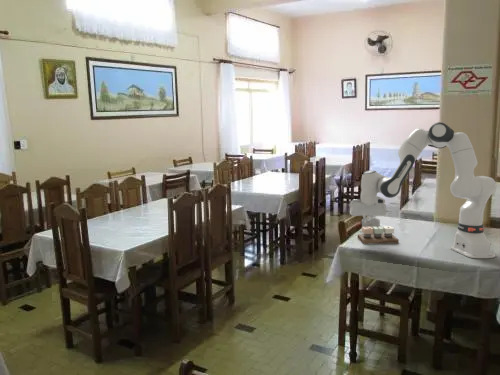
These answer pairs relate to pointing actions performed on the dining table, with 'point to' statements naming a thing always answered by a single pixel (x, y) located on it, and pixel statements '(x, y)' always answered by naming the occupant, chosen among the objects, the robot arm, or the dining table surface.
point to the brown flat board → (377, 239)
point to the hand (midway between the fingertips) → (367, 222)
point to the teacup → (373, 223)
